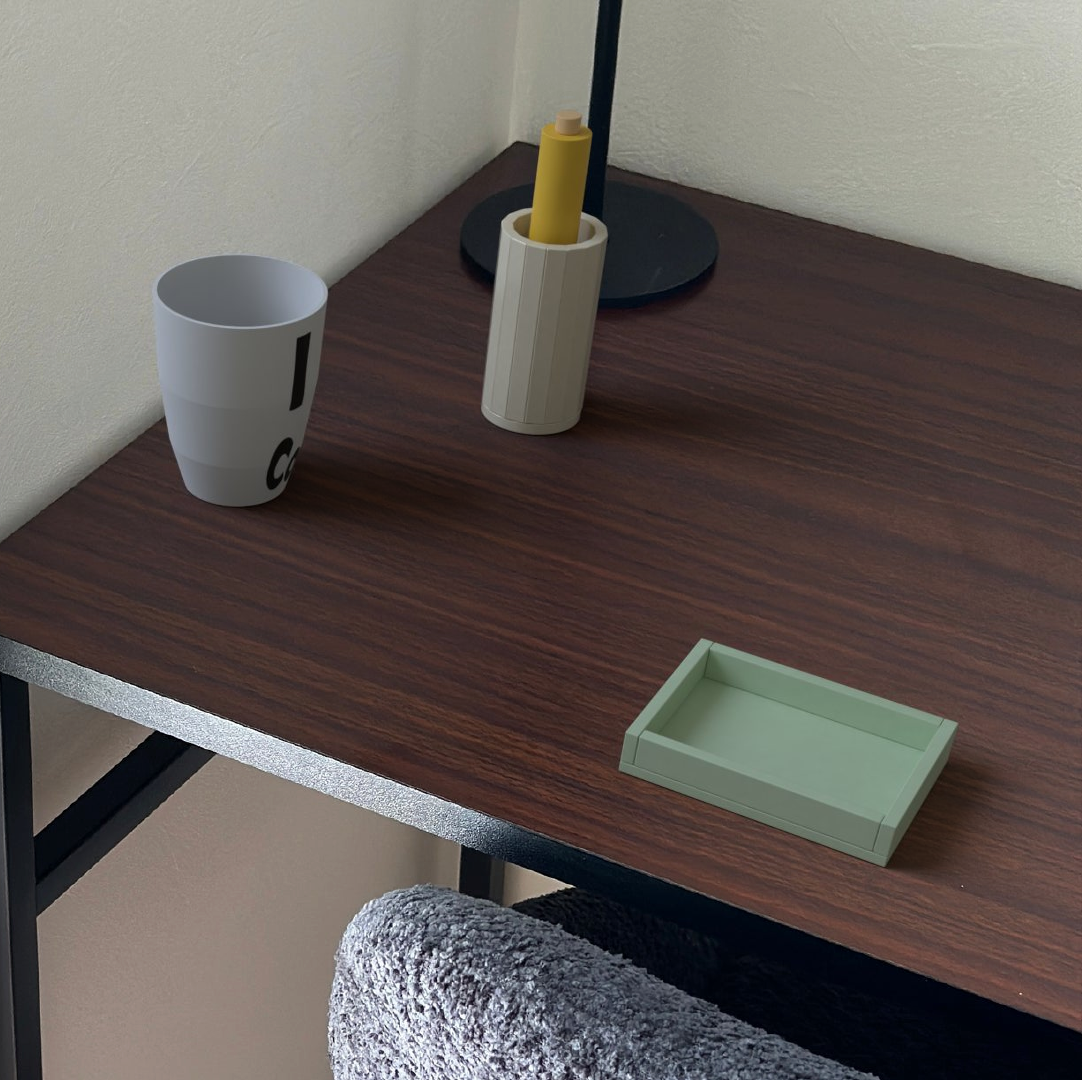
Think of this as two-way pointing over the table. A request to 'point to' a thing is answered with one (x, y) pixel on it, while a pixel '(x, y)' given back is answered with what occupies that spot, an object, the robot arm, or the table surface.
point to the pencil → (560, 180)
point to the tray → (789, 750)
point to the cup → (238, 370)
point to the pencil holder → (541, 327)
